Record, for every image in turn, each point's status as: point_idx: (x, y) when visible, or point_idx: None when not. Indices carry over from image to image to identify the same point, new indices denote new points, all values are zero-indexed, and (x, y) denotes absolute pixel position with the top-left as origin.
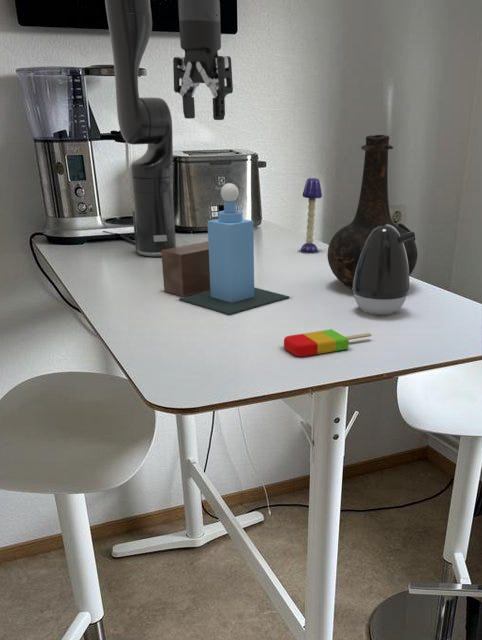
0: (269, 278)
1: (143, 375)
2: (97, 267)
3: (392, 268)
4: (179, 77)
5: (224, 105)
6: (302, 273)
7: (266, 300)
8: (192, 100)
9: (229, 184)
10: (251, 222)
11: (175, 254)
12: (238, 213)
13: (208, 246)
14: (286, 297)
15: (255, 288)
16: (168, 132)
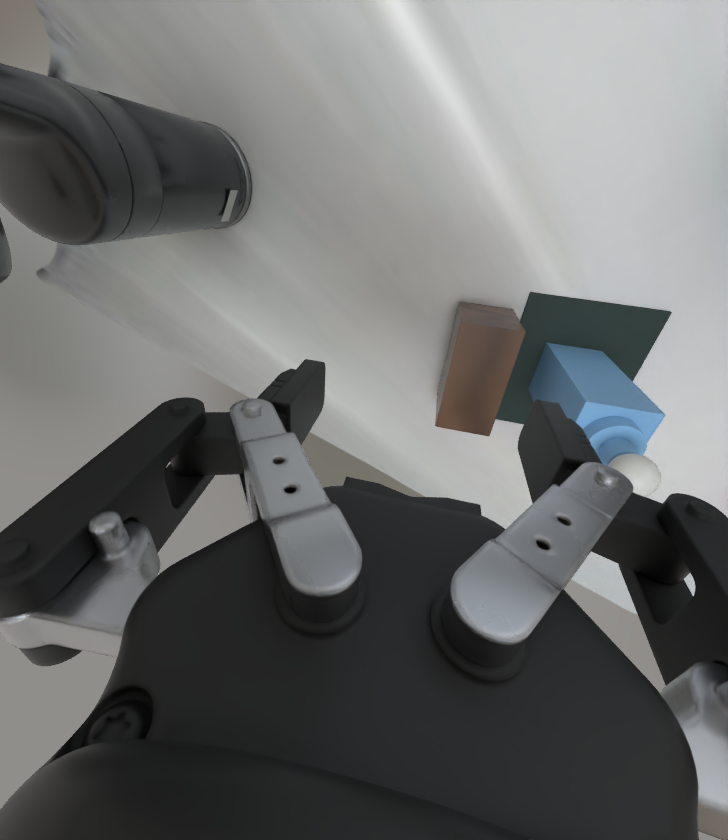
0: (566, 200)
1: (601, 589)
2: (245, 343)
3: None
4: (173, 516)
5: (593, 453)
6: (634, 82)
7: (634, 357)
8: (297, 408)
9: (644, 494)
10: (661, 419)
11: (474, 432)
12: (642, 453)
13: (493, 360)
14: (667, 319)
15: (579, 303)
16: None
